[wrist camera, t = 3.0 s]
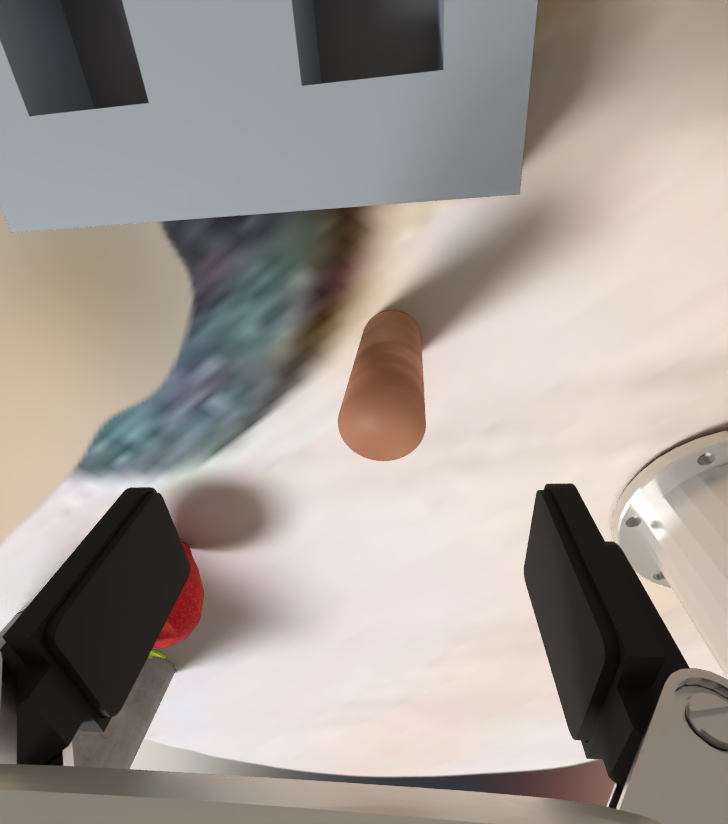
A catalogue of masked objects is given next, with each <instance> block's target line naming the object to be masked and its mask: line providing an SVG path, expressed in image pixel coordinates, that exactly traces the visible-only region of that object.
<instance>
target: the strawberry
mask: <svg viewBox="0 0 728 824" xmlns="http://www.w3.org/2000/svg"><path fill="white" fill-rule="evenodd" d="M181 543H182V546H183V548H184V550H185V553H186V555H187V558H188V560H189V563H190V574H189V577H188V580H187V582H186V584H185V586H184V588H183V590H182V592H181V593H180V595H179V597H178V599H177V601H176V603H175V605H174V607H173V609H172V611H171V613H170V615H169V617H168V619H167V621H166V623H165V625H164V627H163V629H162V631H161V633H160V635H159V637H158V639H157V641H156V642H155V644H154V646H153V648H152V650H151V652H150V654H149V656H148V658H150V659H152V658H153V656H156V657H161V658H166V657H167V656H166V655H164V654H163V653H161V652H159V651H158V650H156V649H160V648H166V647H169V646H171V645H174V644H176V643H178V642H180V641H183V640H184V639H186V638H187V637H188V636H189V634H190V633H191V632H192V630H193V629H194V628H195V626H196V625H197V624H198V622H199V620H200V617H201V610H202V604H203V597H204V591H203V587H202V583H201V578H200V574H199V570H198V568H197V565H196V563H195V561H194V559H193V557H192V554H191V550H190V548H189V546H188V545H187V544H185V543H183V542H181Z"/></svg>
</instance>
